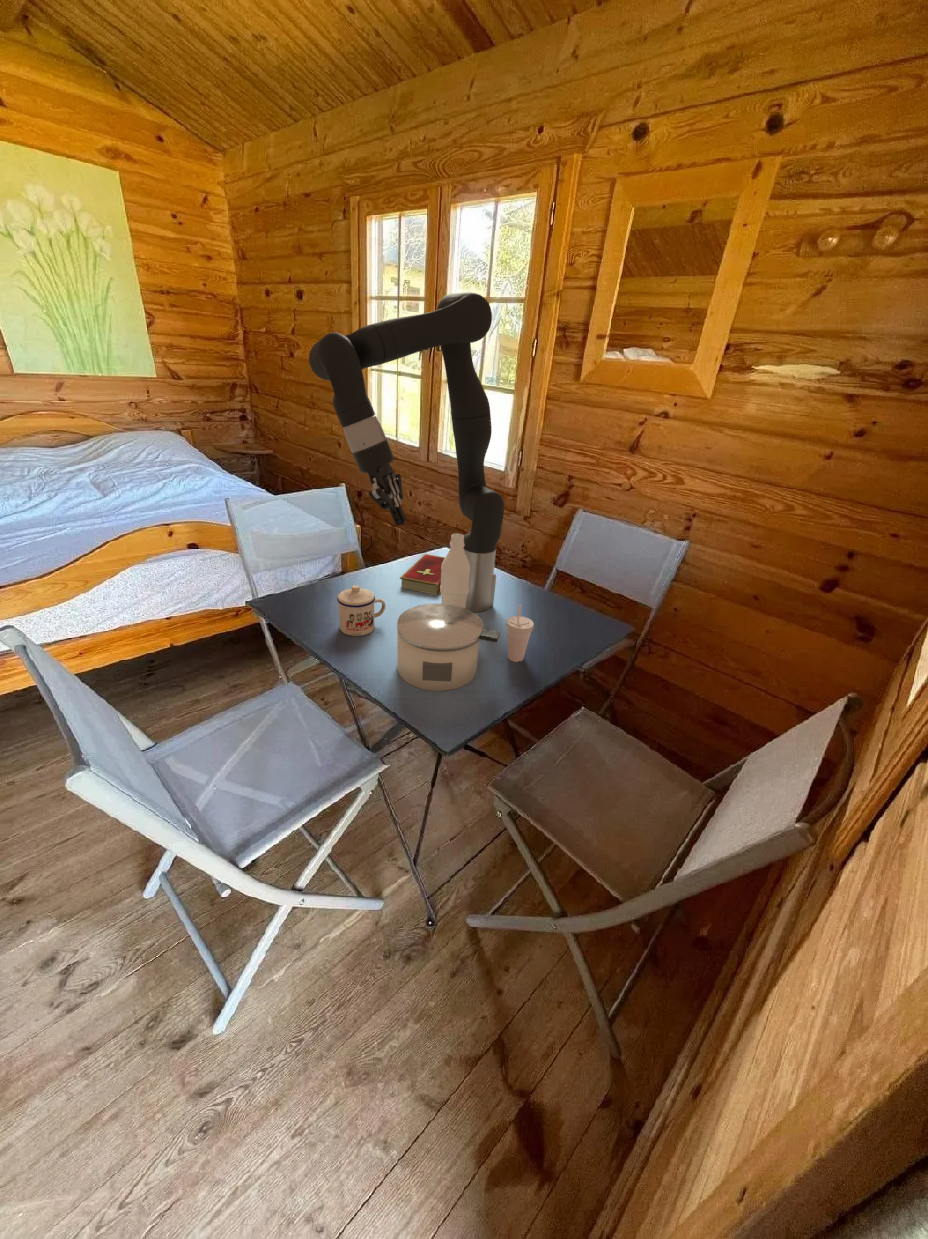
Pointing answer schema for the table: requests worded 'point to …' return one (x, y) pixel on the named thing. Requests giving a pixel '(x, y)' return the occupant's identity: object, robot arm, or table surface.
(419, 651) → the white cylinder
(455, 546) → the water bottle
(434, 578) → the hardcover book
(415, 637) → the cooker lid
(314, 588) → the table surface
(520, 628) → the smoothie
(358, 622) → the teacup with lid
